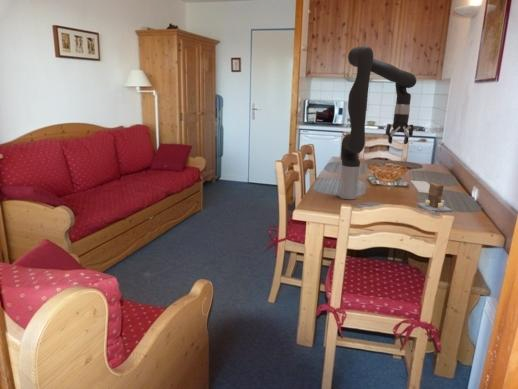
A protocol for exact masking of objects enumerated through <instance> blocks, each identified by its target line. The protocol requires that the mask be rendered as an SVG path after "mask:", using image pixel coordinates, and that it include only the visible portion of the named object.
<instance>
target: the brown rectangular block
mask: <svg viewBox="0 0 518 389" xmlns="http://www.w3.org/2000/svg"><path fill="white" fill-rule="evenodd" d="M429 184H430V188H429V194H427V199H428V200H430V204H429V206H431V207H433V208H438V203H441V200H442V199H443V191H444V185H443V184H440V183H438V182H430V183H429Z"/></svg>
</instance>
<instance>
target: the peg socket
mask: <svg viewBox="0 0 518 389" xmlns="http://www.w3.org/2000/svg"><path fill="white" fill-rule="evenodd" d="M429 204H430V200H428V198H427V199H425V202H416V206H418V207H420V208H421V209H423V210H425V209H427V210H432V211H437V212H438V213H452V212H453V209H451V208H449V206H448V207H447V206H446V205H445V200H443V199H441V203H438V208H433V207H431V206H429ZM437 212H436V213H437Z"/></svg>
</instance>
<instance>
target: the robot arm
mask: <svg viewBox="0 0 518 389" xmlns="http://www.w3.org/2000/svg"><path fill="white" fill-rule="evenodd" d="M347 54H348V55H347V59H348V62H349V64H350V65H351V66H353V67H355V68H357V70H356V76H355V80H354V82H353V84H352V86H351V88H350V90H349V93H348V99H347V111H348V116H349V120H350V133H348V134H346V135H344V136H343V138H342V141H341V149H340V151H341V152H340V159H341V166H340V167H341V169H340V178H339V179H338V185H337V186H338V188H337V197H338V198H339V199H345V200H356V199H357V196H358V187H359V186H358V185H359V178H360V169H361V168H360V167H361V166H360V165H361V160H360V159H359V156H358V154H360V153H361V152H362V151H363V150H364V148H365V144H366V117H367V108H368V99H369V98H368V96H369V87H370V76H371V73H374V74H376V75H378V76H380V77H382V78H383V79H385V80H387V81H389V82H392V83H394V84H395V93H396V101H395V106H394V113H393V122H392V123H387V124H386V128H385V135H386V136H388V139H387V142H388V144H391V145H392V143H393V137H394V135H395V134H396V133H402V134H404V140H403V144H404V145H407V144H408V143H409V138H410V137H413V135H414V134H413V133H414V124H411V123H410V124H408V123H409V118H410V112H411V107H410V106H411V99H412V94H411V93H409V92H408V91H407V89H411V88H413V87H415V85H416V84H417V78H416V76H415V75H414V74H413V73H411V72H410V71H407V70H403V69H399V68H398V67H397V66H395V65H393V64H390V63H388V62H385V61H381V60H379V59H375V58H374V51H373V49H372V48H371V47H370V46H366V45H365V46H356V47H354V48H352V49H351V50H350V51H349V52H348V53H347Z"/></svg>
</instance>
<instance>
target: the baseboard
mask: <svg viewBox="0 0 518 389" xmlns="http://www.w3.org/2000/svg"><path fill="white" fill-rule="evenodd" d="M410 183H411V184H412V186H413V187H414V188H415V190H416V191H417V192H418V194H420V195H421V194H423V195H424V194H425V195H428V194H429V188H430V183H429V182H427V181H423V180H410Z"/></svg>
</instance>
